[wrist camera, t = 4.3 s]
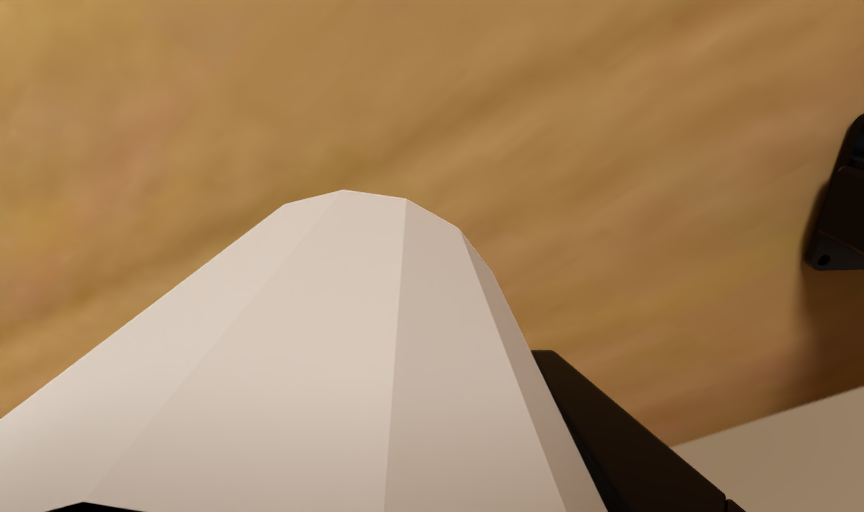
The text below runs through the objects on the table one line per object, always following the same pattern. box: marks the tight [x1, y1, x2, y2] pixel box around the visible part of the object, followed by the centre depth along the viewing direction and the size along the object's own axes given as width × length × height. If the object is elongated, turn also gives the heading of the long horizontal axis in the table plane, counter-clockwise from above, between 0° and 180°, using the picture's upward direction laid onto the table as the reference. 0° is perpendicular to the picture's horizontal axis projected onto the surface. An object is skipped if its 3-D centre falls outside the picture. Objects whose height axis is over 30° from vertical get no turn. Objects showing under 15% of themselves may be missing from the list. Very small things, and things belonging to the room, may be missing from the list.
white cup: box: [0, 190, 607, 512], centre depth 6 cm, size 7×7×7 cm
